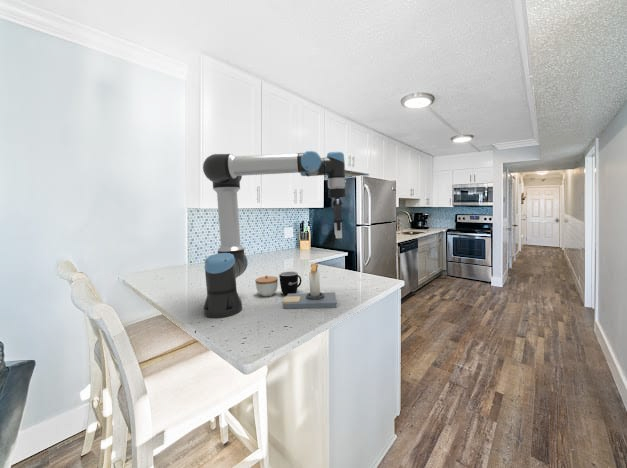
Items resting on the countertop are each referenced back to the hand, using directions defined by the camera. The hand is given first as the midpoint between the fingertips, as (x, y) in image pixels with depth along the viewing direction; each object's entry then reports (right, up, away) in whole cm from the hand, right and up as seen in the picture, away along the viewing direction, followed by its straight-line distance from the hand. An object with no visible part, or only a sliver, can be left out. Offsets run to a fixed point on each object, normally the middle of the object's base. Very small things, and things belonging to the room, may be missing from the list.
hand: (338, 236), depth 123 cm
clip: (-11, -14, -3) cm, 18 cm away
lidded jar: (-34, -29, +12) cm, 46 cm away
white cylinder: (-10, -27, -1) cm, 29 cm away
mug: (-22, -28, +12) cm, 38 cm away
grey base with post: (-12, -29, -2) cm, 31 cm away
